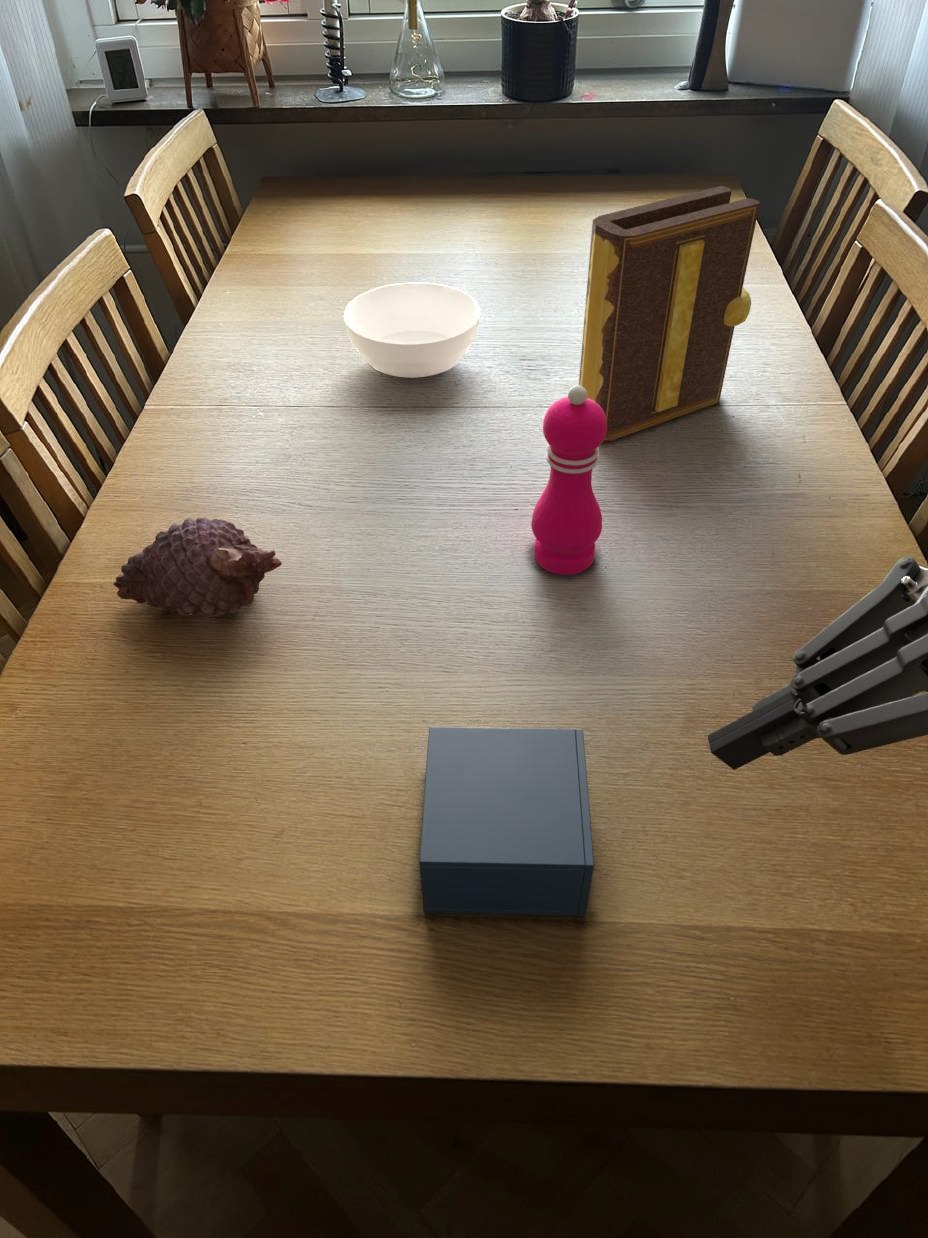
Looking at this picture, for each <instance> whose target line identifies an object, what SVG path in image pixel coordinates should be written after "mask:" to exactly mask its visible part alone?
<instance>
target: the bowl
mask: <svg viewBox="0 0 928 1238" xmlns="http://www.w3.org/2000/svg"><path fill="white" fill-rule="evenodd" d="M480 320H481V307H480V305H479V304H478V302H477V300H476V299H475V298H474V297H473V296H471V295H470V294H468V293H467V292H466V291H463V290H461V289H458V288H456V287H452V286H449V285H445V284H438V283H431V282H402V283H401V282H400V283H393V284H387V285H383V286H379V287H376V288H373V289H369V290H368V291H365V292H363V293H361V294H359V295H358V296H356V297H354V298H353V299H352V300H351V301H350V302H349V303H348V304H347V306H346V307H345V309H344V313H343V321H344V325H345V328H346V332H347V334H348V338H349V341H350V343H351V345H353V347H354V348H355V349H356V350H357V352H358V354H359V356H360V357H361V358H362V359H363V360H364V361H365V362H366V363H367V364H368V365H370V367H372V368H373V369H374V370H376V371H378V372H381V374H385V375H388V376H393V377H397V378H398V377H399V378H424V377H430V376H436V375H438V374H441V373H445V372H446V371H448V370H450V369H452V368H453V367H455V366H456V365H458V364H459V363H460V361H461V360H462V359H463V358H464V357H465V356H466V354H467V353H468V352H469V350H470V347H471V345H472V344H473V343H474V341H475V340H476V337H477V334H478V331H479V326H480Z"/></svg>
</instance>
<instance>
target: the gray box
mask: <svg viewBox="0 0 928 1238" xmlns="http://www.w3.org/2000/svg"><path fill="white" fill-rule="evenodd" d="M425 763H426V765H425V778H424V791H423V792H424V793H423V806H422V818H421V830H420V831H421V832H420V833H421V834H420V846H419V860H418V863H419V872H420V873H419V874H420V875H419V877H420V886H421V887H420V888H421V899H422V911H423V913H424V914H426V913H428V914H467V915H469V914H471V915H472V914H473V915H510V916H511V915H514V916H515V915H516V916H517V915H518V916H519V915H520V916H562V917H563V916H565V917H566V916H567V917H586V916H587V914H588V913H587V912H588V906H589V899H590V893H591V888H592V881H593V875H594V868H595V860H594V858H595V857H594V848H593V846H594V845H593V835H592V824H591V823H592V822H591V811H590V797H589V786H588V775H587V774H588V772H587V771H588V770H587V761H586V749H585V735H584V729H582V728H528V727H527V728H524V727H523V728H520V727H519V728H518V727H514V728H513V727H464V726H463V727H460V726H459V727H457V726H455V727H454V726H453V727H452V726H429V727H428V737H427V750H426V762H425Z"/></svg>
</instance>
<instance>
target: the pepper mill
mask: <svg viewBox="0 0 928 1238" xmlns="http://www.w3.org/2000/svg"><path fill="white" fill-rule="evenodd" d="M606 432H607V420H606V416H605V413H604V411H603V410H602V408H601V407H600V406H599V405H598V404H597V403H596V402H595V401H593V400H591V399H589V398H587V391H586V389H585V388H584V387H582V386H579V384H578V385H573V386H572V387H570V388H569V390H568V392H567V396H565V397H562V398H560V399H558V400H556V401H555V402H553V403H552V404H551V405H550V406H549V407H548V409H547V410H546V412H545V415H544V418H543V422H542V434H543V437H544V439H545V440H546V442H547V445H546V455H545V459H546V461H547V463H548V465H549V466H550V471H549V478H548V481H547V484H546V486H545V488H544V490H543V492H542V493H541V495H540V496H539V498H538V500H537V501H536V504H535V506H534V509H533V512H532V516H531V525H530V526H531V530H532V533H533V535H534V537H535V541H534V559H535V561H536V563H537V564H538V565H539V566H540V567H541V568H542V569H544V570H546V571H547V572H549V573H551V574H556V575H562V576H568V575H575V574H576V575H577V574H579V573H581V572H584V571H586V570H587V569H588V568H589V567H591V565H592V564H593V563H594V560H595V559H594V558H595V552H596V551H595V550H596V542H597V541H598V539H599V538H600V536H601V535H602V530H603V515H602V511H601V507H600V504H599V502H598V500H597V498H596V495H595V493H594V491H593V485H592V484H593V481H592V480H593V479H592V478H593V476H592V475H593V469H595V467H596V466H597V465H598V463H599V455H600V446H601V445H602V443H604V442H603V441H604V439H605V436H606Z"/></svg>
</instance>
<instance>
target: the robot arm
mask: <svg viewBox="0 0 928 1238" xmlns="http://www.w3.org/2000/svg"><path fill="white" fill-rule="evenodd" d="M818 658H819V659H818ZM792 662H793V663H794V664H795V674H794V675H793V676H792V678H791V680H790V682H789V683H788V684H786V685H784V686H783V687H781V688H779V689H777V690H775V691H774V692H771V693H770V694H768V695H766V696H764V697H762V698H760V699H757V701H756V702H755V703H754V704H752V706H751V708H752V711H750V712H748V713H747V714H745V715H742V716H741V717H739V718H737V719H735V720H734V721H731V722H730V723H728V724H725V725H724V726H722V727H721V728H718V729H717V730H715V731H713V732H711V733H709V734H707V740H708V745H709V749H710V753H711V754H712V755H713V756H715V757H716V759H719V760H720V761H721V762H723V763H724V764H725V765H726V766H728V767H729V768H730V769H731V770H733V771H735V770H738V769H740V768H741V767H743V766H746V765H748V764H750V763H751V762H754V761H755V760H758V759H760V758H761V757H763V756H766V755H768V754H769V753H770V754H771V755H773V756H774V757H778V756H783V755H785V754H787V753H789V752H791V751H793V750H795V749H797V748H800V747H802V746H803V745H806V744H808V743H810V742H812V741H813V740H816V739H822V740H823V741H824V742H825V743H826V744H828V745H829V746H830V747H831V749H833V750H834V751H836V752H837V753H838V754H839V755H842V756H846V755H847V756H848V755H851V754H856V753H860V752H864V751H867V750H871V749H876V748H879V747H884V746H887V745H892V744H896V743H899V742H900V743H901V742H904V741H908V740H912V739H916V738H920V737H923V736H924V737H925V736H928V568H927V567H924V566H921V565H920V564H919V563H918V562H917V561H916V560H915V558H914V557H913V556H912V555H911V556H910V555H905V556H903V557H901V558H899V559H898V560H897V561H896V563H895V564H894V566H893V567H892V568H891V570H890V571H889V572H888V573H887V575H885V577H884V579H883V580H882V581H881V582H880V583H879V584H878V585H877V586H876V587H874V588H873V589H871V590H870V592H868V593H867V594H865V595H864V596H863V597H862V598H861V599H859V600H858V601H857V602H855V603H854V604H853V605H852V606H850V607H849V608H848V609H847V610H846V611H844V612H843V613H842V614H841V615H839V616H838V617H837V618H836V619H835V620H833V621H832V622H830V623H829V625H827V626H826V627H824V628H823V629H822V630H821V631H819V632H818V633H817V634H815V636H813V637H812V638H811V639H810V640H808V641H807V642H806V643H805V644H804V645H802V646H801V647H800V648H798V649H797V650H796V651H795V652H794V653H793V655H792ZM921 692H923V693H921Z"/></svg>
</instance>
